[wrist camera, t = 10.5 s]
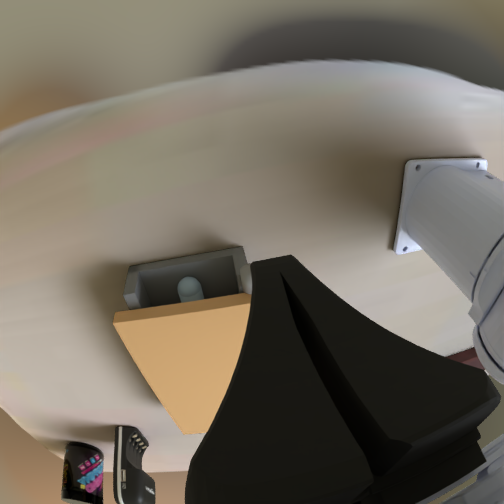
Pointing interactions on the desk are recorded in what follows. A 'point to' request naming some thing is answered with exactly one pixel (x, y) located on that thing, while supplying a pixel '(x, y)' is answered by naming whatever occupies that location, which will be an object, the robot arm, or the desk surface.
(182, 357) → the cover
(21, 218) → the desk surface
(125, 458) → the battery charger
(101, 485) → the supplement container
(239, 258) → the grey tray with rod
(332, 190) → the desk surface
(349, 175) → the desk surface
